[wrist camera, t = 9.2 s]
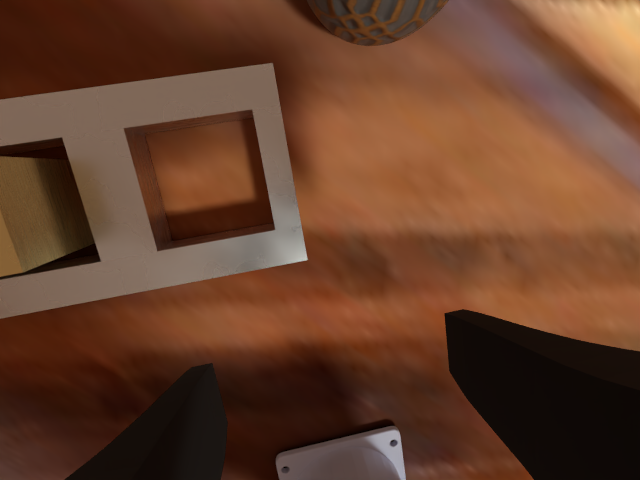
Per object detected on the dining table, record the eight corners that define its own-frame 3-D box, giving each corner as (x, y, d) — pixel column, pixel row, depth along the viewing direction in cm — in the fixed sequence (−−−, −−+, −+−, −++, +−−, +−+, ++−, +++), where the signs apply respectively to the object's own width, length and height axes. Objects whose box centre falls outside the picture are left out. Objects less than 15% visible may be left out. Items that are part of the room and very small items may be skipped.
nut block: (106, 238, 18) (23, 272, 12) (24, 252, 17) (-103, 294, 11) (82, 160, 17) (-21, 155, 11) (-5, 173, 16) (-158, 175, 11)
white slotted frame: (303, 249, 19) (307, 259, 17) (-175, 338, 17) (-247, 365, 15) (272, 77, 17) (272, 62, 15) (-273, 153, 15) (-374, 150, 13)
